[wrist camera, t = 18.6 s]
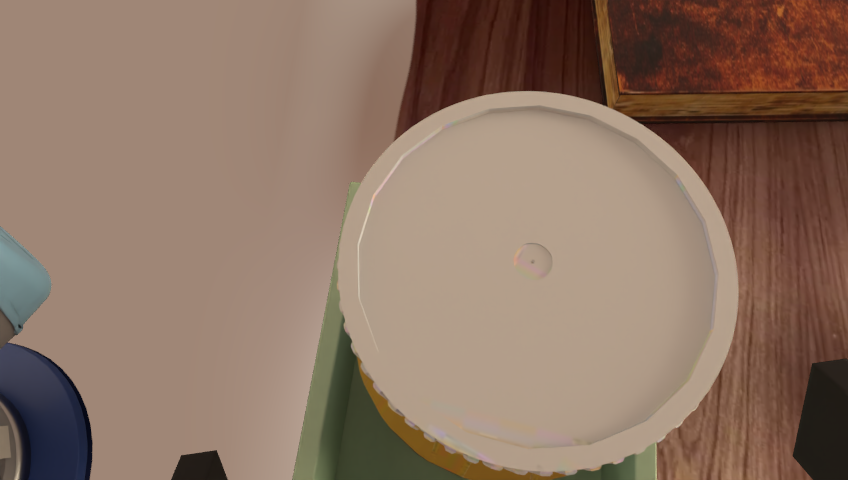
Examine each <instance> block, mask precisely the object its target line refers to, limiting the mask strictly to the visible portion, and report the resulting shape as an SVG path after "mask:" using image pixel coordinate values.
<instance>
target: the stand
mask: <svg viewBox="0 0 848 480" xmlns="http://www.w3.org/2000/svg"><path fill="white" fill-rule="evenodd" d="M360 185H361V183H357V182H351V183H350V185H349V190H348V195H347V201H346V206H345V211H344V216H343V222H342V227H341V231H340V237H339V242H338V247H337V252H336V257H335V262H334V268H333V273H332V278H331V283H330V288H329V293H328V299H327V304H326V309H325V314H324V319H323V324H322V330H321V335H320V340H319V345H318V350H317V356H316V360H315V366H314V371H313V376H312V381H311V386H310V392H309V397H308V402H307V407H306V412H305V417H304V422H303V427H302V433H301V438H300V443H299V448H298V453H297V458H296V464H295V469H294V474H293V479H292V480H469V479H465V478H462V477H459V476H457V475H455V474H453V473H451V472H449V471H447V470H445V469H442V468H440V467H438V466H436V465H434V464H432V463H430V462H428V461H426V460H425V459H423V458H422V457H420V456H419V455H418V454H416V453H415V452H414V451H413V450H412V449H411V448H410V447H409V446H408V445H407V444H406V443H405V442H404V441H403V440H402V439H401V438H400V437H399V436H397V435H396V434H395V433H394V432H393V431H392V430H391V429H390V427H389V426H388V425H387V424H386V422H385V421H384V420H383V418H382V417H381V415H380V413H379V411H378V409H377V408H376V406H375V404H374V402H373V400H372V398H371V396H370V394H369V393H368V391H367V389H366V387H365V385H364V383H363V380H362V377H361V374H360V370H359V365H358V359H357V356H356V355H355V354H354V353H353V351H352V348H351V343H352V339H351V338H350V336H349V335H348V334H347V333H346V332H345V329H344V326H343V325H344V322H345V318H344V315H343V314H342V312H341V311H340V308H339V302H340V301H341V299H340V293H339V291H338V290H337V281H338V269H337V261H338V259H339V243H340V240H341V236H342V231H343V226H344V223H345V220H346V217H347V214H348V211H349V208H350V205H351V203H352V201H353V198H354V196H355V194H356V192H357V190H358V188H359V186H360ZM551 480H657V468H656V442H654V443H653V444H651V445H649V446H648V447H646V449H645V451H644V452H642V453H640V454H638V455H635V454H632V455H629V456H627V457H625V458H624V460H623V462H621V463H618V464H608V463H607V464H604V465H601V468H600V469H599V470H595V471H588V470H582V469H580V470H579V471H577V473H576V474H574V475H567V476H564V477H560V478H556V479H551Z"/></svg>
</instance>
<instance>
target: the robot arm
mask: <svg viewBox="0 0 848 480" xmlns="http://www.w3.org/2000/svg"><path fill="white" fill-rule="evenodd" d="M50 290H51V280H50V277H49V274H48V272H47V271H46V269H45V268H44V267H43V265H42V264H41V263H40V262H39V261H38V260H37V259H36V258H35V257H34V256H33V255H32V254H31V253H30V252H29V251H28V250H26V249H25V248H24V247H23V246H22V245H21V244H20V243H19V242H18V241H16V240H15V239H14V238H13V237H12V236H11V235H10V234H9V233H7V232H6V231H5V230H4V229H3V228H2V227H0V349H1V348H2V347H3V346H4V345H5V344H6V343H7V342H8V341H9V340H10V339H11V338H13V337H14V336H15V335H18V333H20V332H21V331H22V329H23V324H24V323H25V322H26V321H27V320H28V318H29V317H30V316H31V315H32V314H33V313H34V312H35V311H36V310H37V309H38V308H39V307H40V305H41V304H42V303H43V302H44V301H45V300H46V299H47V297H48V296H49V293H50ZM793 457H794V458H795V459H796V460H797V462H798V463H799V464H800V465H801V466H802V467H803V468H804V470H805V471H806V472H807V473H808V474H809V475H810V477H811V478H812V479H813V480H848V359H840V360H833V361H826V362H819V363H812V367H811V372H810V377H809V381H808V386H807V391H806V396H805V400H804V405H803V410H802V414H801V419H800V424H799V429H798V433H797V438H796V443H795V448H794V452H793ZM30 465H31V447H30V440H29V435H28V431H27V428H26V425H25V423H24V421H23V418H22V416H21V415H20V413H19V411H18V410H17V409H16V408H15V406H14V405H13V404H12V403H11V402H10V401H9V400H8V399H7V398H6V397H4V396H3V395H2V394H0V480H28V479H29V473H30ZM171 480H227V477H226V474H225V471H224V469H223V466H222V463H221V461H220V458H219V456H218V453H217V450H216V451H209V452H202V453H195V454H189V455H181V457H180V460H179V462H178V465H177V467H176V470H175V472H174V474H173V477H172V479H171Z"/></svg>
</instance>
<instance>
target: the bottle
mask: <svg viewBox="0 0 848 480" xmlns="http://www.w3.org/2000/svg"><path fill="white" fill-rule="evenodd" d="M337 269H338V281H337V290H338V291H339V293H340V299H341V301H340V302H339V308H340V311H341V312H342V314H343V315H344V318H345V322H344V325H343V326H344V329H345V332H346V333H347V334H348V335H349V336H350V338H351V339H352V343H351V348H352V351H353V353H354V354H355V355H356V356H357V359H358V365H359V370H360V374H361V377H362V380H363V383H364V385H365V387H366V389H367V391H368V393H369V394H370V396H371V398H372V400H373V402H374V404H375V406H376V408H377V409H378V411H379V413H380V415H381V417H382V418H383V420H384V421H385V422H386V424H387V425H388V426H389V427H390V429H391V430H392V431H393V432H394V433H395V434H396V435H397V436H399V437H400V438H401V439H402V440H403V441H404V442H405V443H406V444H407V445H408V446H409V447H410V448H411V449H412V450H413V451H414V452H415V453H416V454H418V455H419V456H420V457H422V458H423V459H425V460H426V461H428V462H430V463H432V464H434V465H436V466H438V467H440V468H442V469H445V470H447V471H449V472H451V473H453V474H455V475H457V476H459V477H462V478H465V479H469V480H551V479H556V478H560V477H564V476H567V475H574V474H576V473H577V471H579V470H580V469H582V470H588V471H595V470H599V469H600V468H601V465H604V464H607V463H608V464H618V463H621V462H623V460H624V458H625V457H627V456H629V455H632V454H635V455H638V454H640V453H642V452H644V451H645V449H646V447H648V446H649V445H651V444H653V443H654V442H660V441H662V440H663V439H664V438H665V436H666V434H668V433H669V432H670V431H671V430H673V429H674V428H678V427H679V426H680V425H681V424H682V423H683V420H684V419H685V418H686V417H687V416H688V415H689V414H690V413H691V412H692V411H694V410H695V409H696V408H697V407H698V404H699V403H700V402H701V400H702V399H703V398H704V396H705V395H706V393H707V392H708V391H709V390H710V388H711V386H712V384H713V383H714V381H715V379H716V378H717V376H718V374H719V372H720V370H721V368H722V366H723V363H724V361H725V359H726V356H727V354H728V351H729V348H730V345H731V342H732V338H733V334H734V330H735V325H736V319H737V310H738V274H737V266H736V260H735V255H734V250H733V246H732V242H731V239H730V236H729V233H728V230H727V227H726V225H725V222H724V220H723V217H722V215H721V213H720V211H719V209H718V207H717V205H716V203H715V201H714V199H713V198H712V196H711V194H710V192H709V191H708V189H707V188H706V186H705V185H704V183H703V182H702V181H701V179H700V178H699V176H698V175H697V174H696V173H695V171H694V170H693V169H692V168H691V166H690V165H689V164H688V163H687V162H686V161H685V160H684V159H683V158H682V157H681V156H680V155H679V154H678V153H677V152H676V151H675V150H674V149H673V148H672V147H671V146H670V145H669V144H667V143H666V142H665V141H664V140H663V139H661V138H660V137H659V136H658V135H656V134H655V133H654V132H652V131H651V130H649V129H648V128H646V127H645V126H643V125H642V124H640V123H638V122H637V121H635V120H633V119H631V118H630V117H628V116H626V115H624V114H622V113H620V112H618V111H616V110H613V109H611V108H609V107H606V106H603V105H601V104H598V103H595V102H592V101H589V100H585V99H582V98H578V97H574V96H569V95H564V94H558V93H550V92H538V91H516V92H504V93H496V94H490V95H485V96H480V97H476V98H473V99H469V100H466V101H463V102H460V103H457V104H454V105H452V106H449V107H447V108H445V109H442V110H440V111H438V112H436V113H434V114H432V115H431V116H429V117H427V118H425V119H424V120H422V121H420V122H419V123H417V124H416V125H414V126H413V127H412V128H410V129H409V130H408V131H406V132H405V133H404V134H402V135H401V136H400V137H399V138H398V139H397V140H396V141H394V142H393V143H392V144H391V145H390V146H389V147H388V148H387V149H386V151H385V152H384V153H383V154H382V155H381V156H380V157H379V158H378V160H377V161H376V162H375V163H374V165H373V166H372V167H371V169H370V170H369V172H368V173H367V175H366V176H365V178H364V180H363V181H362V183H361V185H360V186H359V188H358V190H357V192H356V194H355V196H354V198H353V201H352V203H351V205H350V208H349V211H348V214H347V217H346V220H345V223H344V226H343V231H342V236H341V240H340V243H339V259H338V261H337Z"/></svg>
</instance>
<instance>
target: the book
mask: <svg viewBox="0 0 848 480" xmlns="http://www.w3.org/2000/svg"><path fill="white" fill-rule="evenodd" d="M591 8H592V16H593V24H594V33H595V41H596V50H597V58H598V66H599V75H600V83H601V92H602V100H603V106H606V107H609V108H611V109H613V110H616V111H618V112H620V113H622V114H624V115H626V116H628V117H630V118H631V119H633V120H635V121H637V122H638V123H719V122H809V121H848V0H591Z"/></svg>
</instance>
